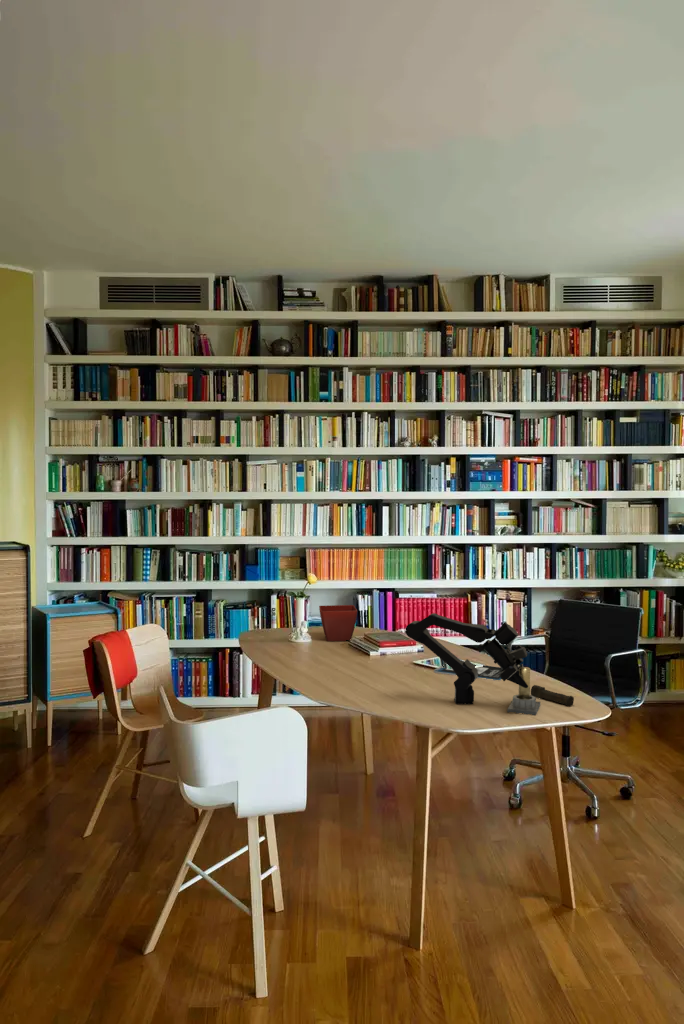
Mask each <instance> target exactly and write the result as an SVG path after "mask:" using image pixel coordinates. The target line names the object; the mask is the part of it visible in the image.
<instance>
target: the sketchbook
mask: <svg viewBox="0 0 684 1024" xmlns="http://www.w3.org/2000/svg"><path fill="white" fill-rule="evenodd" d="M442 665H443V666H444V664H442ZM442 665H440V666H438V667H437V668H435V669H433V673H435V674H440V673H441V675H448V674H449V675H448V676H456V674H455V672H454V670H453V669H447V668H442V667H443V666H442ZM482 665H483V664H482ZM476 669H477V670H478V677H477V678H476V679H479V678H486V679H485V680H487V679H493V680H492V681H495V680H500V681H502V680H501V673H502V671H501V670H502V668H501V667H500V666H492V665H483V667H481V668H476Z"/></svg>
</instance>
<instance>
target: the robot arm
mask: <svg viewBox="0 0 684 1024" xmlns="http://www.w3.org/2000/svg"><path fill="white" fill-rule="evenodd" d="M431 626H436V627H438V628H442V629H444V630H448V631H452V632H455V633H458V634H460V635H463V636H465V637H466V638H467V639H470V640H471V641H473V642H475V643H477V644H478V643H479V644H478V652H479V653H482V652H483V651H485V652H486V653H487V654H488V656H489V657H491V659H492V660H493V663H494V664H495V665H496V664H497V665H498V667H501V668H502V670H501V671H502V673H501V679H502V680H501V681H503V682H505V681H506V680H507V681H509V682H511V683H514V684H515V685H517V686H519V685H520V686H522V687H524V688H527V687H528V685H527V683H526V682H525V680H524V679H523V678H522V676H521V675H520V668H519V667H524V663H523V662H524V658H527V656H528V653H527V649H526V648H525V646H522V645H521V644H519V645H516V646H515V649H514V650H512V651H510V650H509V649H505V647H503V646H504V645H505V646H508V645H510V643H512V642H513V641H514V640H515V639H516V638H517V637H518V636H519V633H518V631H517V630H516V629H515V628H514V627H512V626H511V625H510V624H508V623H507V622H506V621H504V623H502V624H501V626H500V627H499V628H498V629H491V628H488V627H487V626H486V625H484V624H478V623H466V622H463V621H459V620H456V619H452V618H450V617H446V616H443V615H440V614H438V613H436V612H434V613H431V614H429V615H428V616H427V617H424V618H423V619H421V620H414V621H412V622H410V623H408V624H407V625H406V627H405V635H406V636H407V637H408V638H410V639H411V640H413V641H414V642H417V643H419V644H422V645H423V646H425V647H426V648H427V649H428V650H430V651H431V652H432V653H433V654H434V655H436V657H438V658H439V659H440V660H442V661H443V662H444V664H448V665H449V666H450V667H451V668H452V669H453V670H454V672H455V674H456V675H457V679H455V681H454V682H453V685H454V698H453V701H454V703H455V704H456V705H474V701H475V690H474V689H473V685H472V684H474V682H475V681H476V679H478V678H477V677H478V670H477V669H476V668H475V666H476V665H473V664H474V663H472V662H471V661H470V660H469V659H468V658H467V659H465V661H464V660H462V659H460V658H458V656H456V655H455V654H454V653H453V652H451V651H450V650H449V649H448V648H446V647H445V646H444V645H443V644H441V642H439V641H438V640H437V638H434V636H432V634H431V633H430V631H429V630H428V628H430V627H431ZM493 637H494V638H493ZM485 640H486V641H485ZM484 641H485V642H484ZM482 643H483V644H482ZM456 675H455V676H456Z"/></svg>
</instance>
